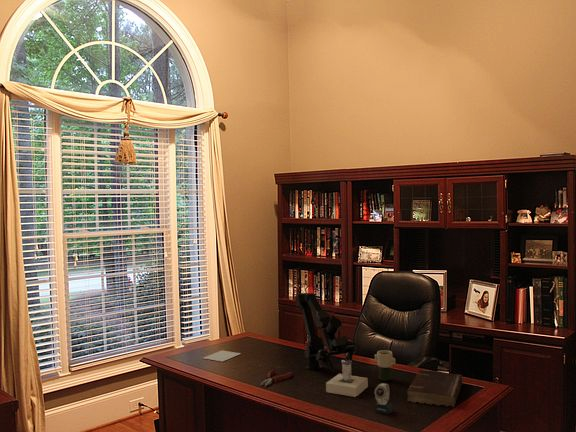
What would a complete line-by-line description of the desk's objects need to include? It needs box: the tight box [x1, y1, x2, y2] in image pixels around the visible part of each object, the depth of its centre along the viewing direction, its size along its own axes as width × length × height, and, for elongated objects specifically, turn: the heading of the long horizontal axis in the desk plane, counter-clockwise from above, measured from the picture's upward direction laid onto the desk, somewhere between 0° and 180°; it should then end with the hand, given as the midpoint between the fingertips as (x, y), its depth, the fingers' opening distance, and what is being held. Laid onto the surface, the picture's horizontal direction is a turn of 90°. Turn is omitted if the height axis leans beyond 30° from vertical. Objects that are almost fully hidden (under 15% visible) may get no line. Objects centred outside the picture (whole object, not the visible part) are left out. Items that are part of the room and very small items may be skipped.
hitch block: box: [325, 373, 369, 398], centre depth 238 cm, size 14×14×4 cm
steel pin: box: [340, 358, 353, 384], centre depth 238 cm, size 5×5×13 cm
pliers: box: [259, 369, 293, 387], centre depth 253 cm, size 12×20×3 cm, turn 153°
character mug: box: [374, 349, 396, 382], centre depth 249 cm, size 11×7×13 cm, turn 48°
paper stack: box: [203, 350, 242, 362], centre depth 289 cm, size 23×25×1 cm
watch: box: [374, 382, 393, 415], centre depth 212 cm, size 6×8×11 cm
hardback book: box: [406, 369, 463, 408], centre depth 232 cm, size 29×19×5 cm, turn 156°
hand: (342, 369), depth 242 cm, fingers open, 9 cm apart
